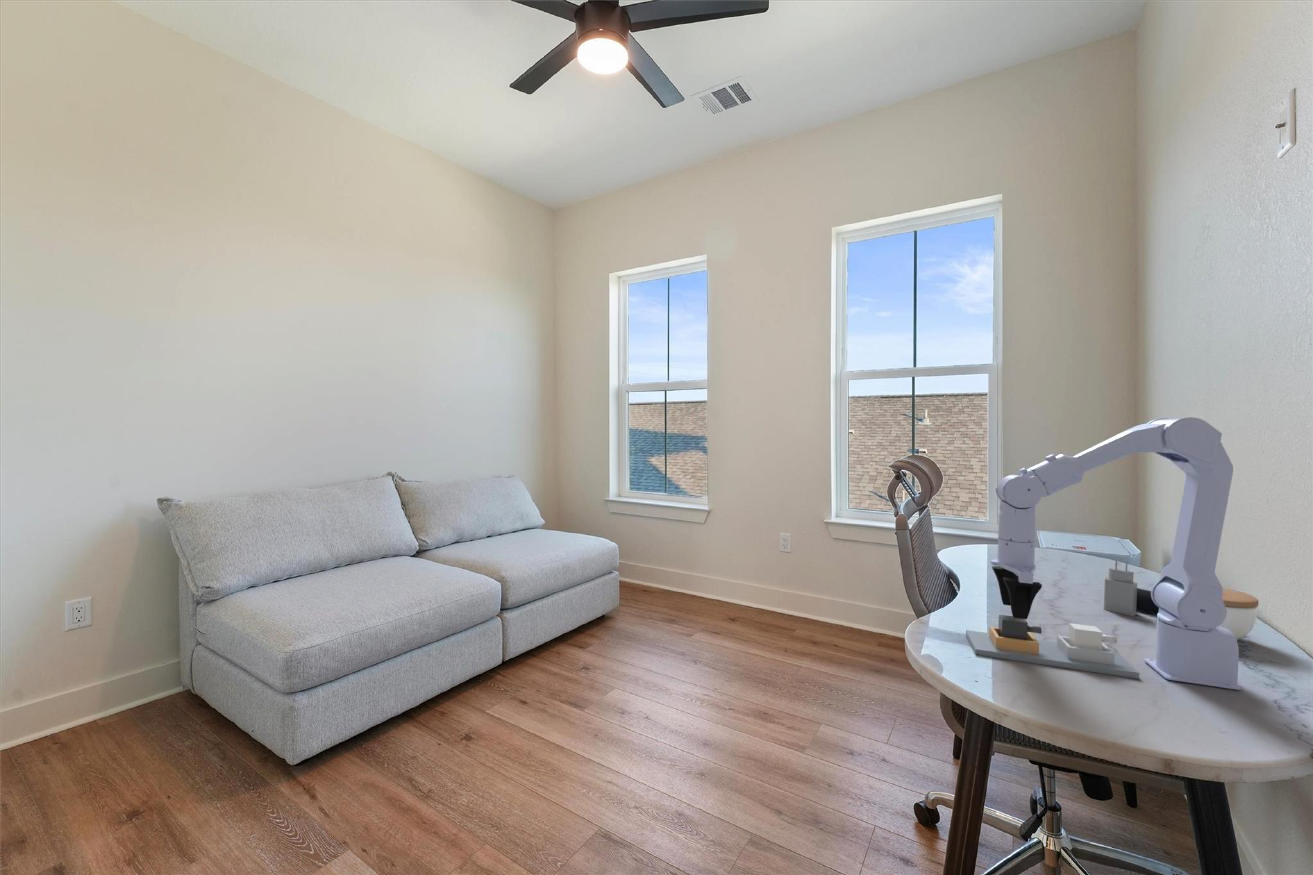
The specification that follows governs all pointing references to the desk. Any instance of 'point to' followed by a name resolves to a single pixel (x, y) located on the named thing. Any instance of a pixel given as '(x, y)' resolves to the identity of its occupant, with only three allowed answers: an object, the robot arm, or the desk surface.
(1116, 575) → the power adapter
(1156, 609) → the pipe connector
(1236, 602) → the white lidded bowl
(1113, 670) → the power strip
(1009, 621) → the dark gray plug
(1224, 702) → the desk surface
